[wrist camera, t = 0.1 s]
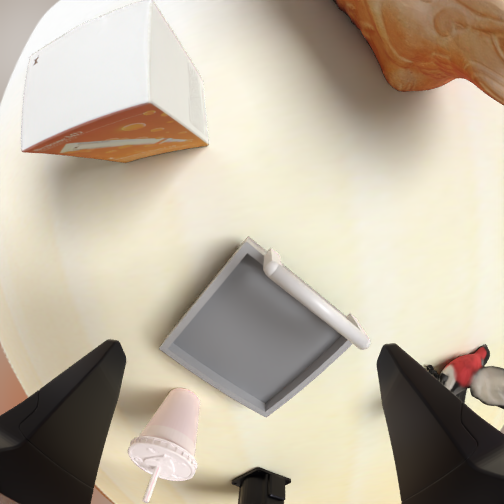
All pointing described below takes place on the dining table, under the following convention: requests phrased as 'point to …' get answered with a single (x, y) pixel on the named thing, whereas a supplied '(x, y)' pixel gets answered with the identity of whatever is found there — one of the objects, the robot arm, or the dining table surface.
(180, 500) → the dining table surface
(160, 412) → the smoothie
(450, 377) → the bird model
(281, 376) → the grey tray
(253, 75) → the dining table surface
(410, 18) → the ceramic vessel
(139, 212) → the dining table surface
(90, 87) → the small box
